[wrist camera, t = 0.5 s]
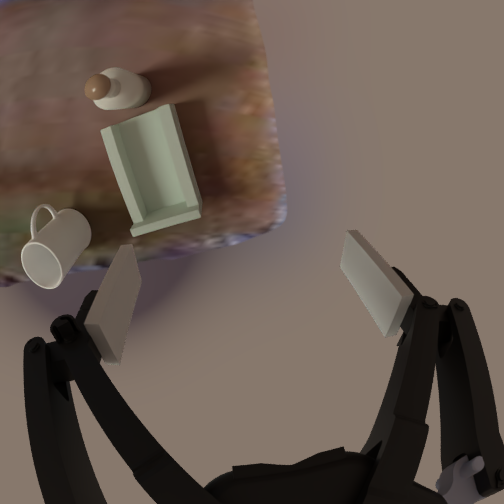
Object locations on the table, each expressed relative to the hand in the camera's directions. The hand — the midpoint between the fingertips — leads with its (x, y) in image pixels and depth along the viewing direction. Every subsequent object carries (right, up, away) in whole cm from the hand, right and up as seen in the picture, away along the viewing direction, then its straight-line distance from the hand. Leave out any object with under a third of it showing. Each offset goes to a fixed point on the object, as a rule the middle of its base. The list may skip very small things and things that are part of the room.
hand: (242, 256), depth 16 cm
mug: (-31, +6, +24) cm, 40 cm away
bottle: (-16, +24, +16) cm, 33 cm away
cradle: (-14, +14, +22) cm, 29 cm away
